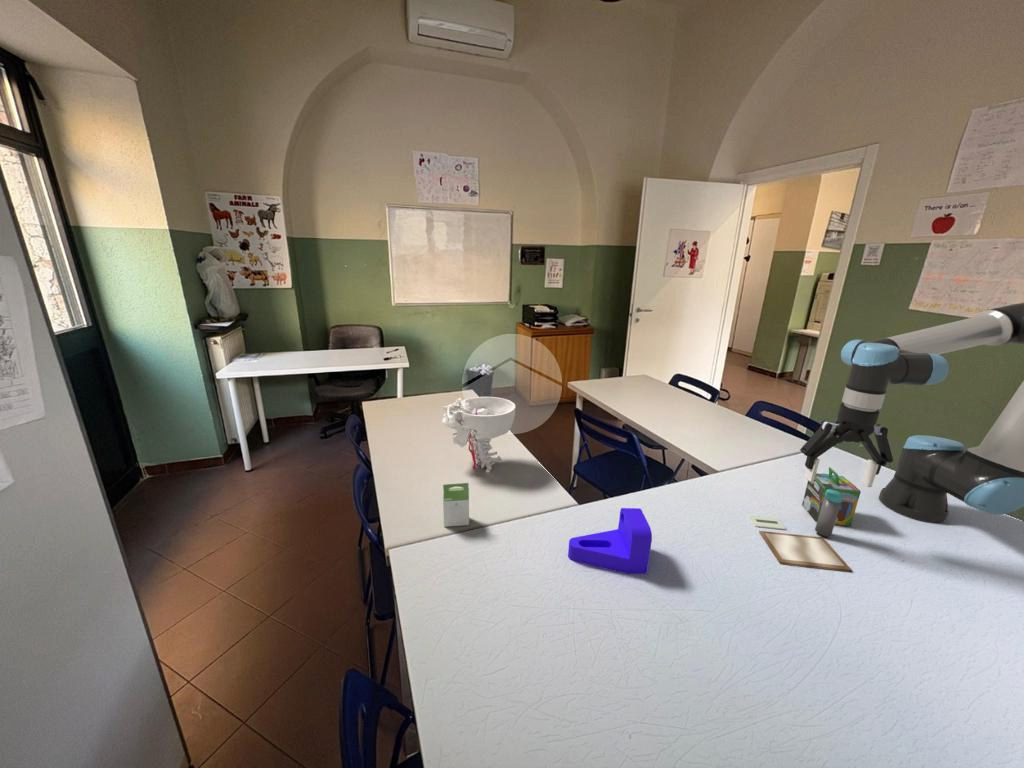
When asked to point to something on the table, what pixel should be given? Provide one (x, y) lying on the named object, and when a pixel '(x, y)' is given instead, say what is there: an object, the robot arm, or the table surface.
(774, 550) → the brown picture frame
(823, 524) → the marker
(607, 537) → the bracket
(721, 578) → the table surface
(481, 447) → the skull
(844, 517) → the chalk box
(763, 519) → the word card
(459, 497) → the ink box
